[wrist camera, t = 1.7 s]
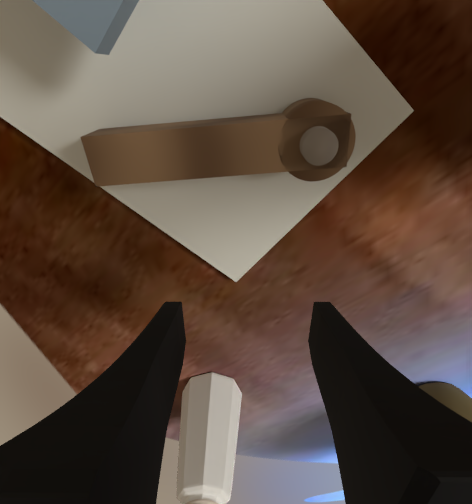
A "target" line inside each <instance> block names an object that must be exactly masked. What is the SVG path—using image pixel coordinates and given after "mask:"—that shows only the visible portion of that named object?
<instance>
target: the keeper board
mask: <svg viewBox="0 0 472 504" xmlns="http://www.w3.org/2000/svg"><path fill="white" fill-rule="evenodd" d="M305 98H317V99H321V100H324V101H327V102H329V103H332V104H335V105H337V106H339V107H340V108H342V109H343V110H344V111H346V112H348V113H351V120H352V122H353V124H354V128H355V134H356V139H355V146H354V150H353V153H352V155H351V157H350V159H349V161H348V162H347V167H343V168H342V169H341V170H340V171H339V172H338V173H336V174H335V175H333V176H331V177H330V178H327V179H325V180H321V181H312V182H310V181H304V180H300V179H298V178H296V177H294V176H293V175H291V174H290V173H289V172H277V173H264V174H252V175H239V176H226V177H213V178H201V179H188V180H175V181H162V182H150V183H137V184H124V185H111V186H100V187H101V188H102V189H104V190H105V191H107V192H108V193H110V194H111V195H112V196H114V197H115V198H117V199H118V200H120V201H121V202H122V203H124V204H125V205H127V206H128V207H130V208H131V209H132V210H134V211H135V212H137V213H138V214H139V215H141V216H142V217H144V218H145V219H147V220H148V221H149V222H151V223H152V224H154V225H155V226H157V227H158V228H159V229H161V230H162V231H164V232H165V233H167V234H168V235H169V236H171V237H172V238H174V239H175V240H177V241H178V242H179V243H181V244H182V245H184V246H185V247H187V248H188V249H189V250H191V251H192V252H194V253H195V254H197V255H198V256H199V257H201V258H202V259H204V260H205V261H206V262H208V263H209V264H211V265H212V266H214V267H215V268H216V269H218V270H219V271H221V272H222V273H224V274H225V275H226V276H228V277H229V278H231V279H232V280H234V281H235V282H237V281H238V280H239V279H240V278H241V277H242V276H243V275H244V274H245V273H246V272H247V271H248V270H249V269H250V268H251V267H252V266H253V265H254V264H255V263H256V262H257V261H259V260H260V259H261V258H262V257H263V256H264V255H265V254H266V253H267V252H268V251H269V250H270V249H271V248H272V247H273V246H274V245H275V244H276V243H277V242H278V241H279V240H280V239H281V238H282V237H283V236H284V235H286V234H287V233H288V232H289V231H290V230H291V229H292V228H293V227H294V226H295V225H296V224H297V223H298V222H299V221H300V220H301V219H302V218H303V217H304V216H305V215H306V214H307V213H308V212H309V211H310V210H311V209H313V208H314V207H315V206H316V205H317V204H318V203H319V202H320V201H321V200H322V199H323V198H324V197H325V196H326V195H327V194H328V193H329V192H330V191H331V190H332V189H333V188H334V187H335V186H336V185H337V184H338V183H339V182H341V181H342V180H343V179H344V178H345V177H346V176H347V175H348V174H349V173H350V172H351V171H352V170H353V169H354V168H355V167H356V166H357V165H358V164H359V163H360V162H361V161H362V160H363V159H364V158H365V157H366V156H368V155H369V154H370V153H371V152H372V151H373V150H374V149H375V148H376V147H377V146H378V145H379V144H380V143H381V142H382V141H383V140H384V139H385V138H386V137H387V136H388V135H389V134H390V133H391V132H392V131H393V130H395V129H396V128H397V127H398V126H399V125H400V124H401V123H402V122H403V121H404V120H405V119H406V118H407V117H408V116H409V115H410V114H411V113H412V112H413V111H414V110H413V109H412V108H411V106H410V105H409V104H408V103H407V102H406V100H405V99H404V98H403V97H402V96H401V94H400V93H399V92H398V91H397V90H396V88H395V87H394V86H393V85H392V84H391V82H390V81H389V80H388V79H387V77H386V76H385V75H384V74H383V73H382V71H381V70H380V69H379V68H378V67H377V65H376V64H375V63H374V62H373V61H372V59H371V58H370V57H369V56H368V55H367V53H366V52H365V51H364V50H363V49H362V47H361V46H360V45H359V44H358V43H357V41H356V40H355V39H354V38H353V37H352V35H351V34H350V33H349V32H348V30H347V29H346V28H345V27H344V26H343V24H342V23H341V22H340V21H339V20H338V18H337V17H336V16H335V15H334V14H333V12H332V11H331V10H330V9H329V8H328V6H327V5H326V4H325V3H324V2H323V0H0V117H1V118H3V119H4V120H6V121H7V122H8V123H10V124H11V125H13V126H14V127H16V128H17V129H18V130H20V131H21V132H23V133H24V134H25V135H27V136H28V137H30V138H31V139H33V140H34V141H35V142H37V143H38V144H40V145H41V146H43V147H44V148H45V149H47V150H48V151H50V152H51V153H53V154H54V155H55V156H57V157H58V158H60V159H61V160H63V161H64V162H65V163H67V164H68V165H70V166H71V167H73V168H74V169H75V170H77V171H78V172H80V173H81V174H82V175H84V176H85V177H87V178H88V179H90V180H91V181H92V182H94V180H93V176H92V173H91V170H90V167H89V163H88V160H87V157H86V154H85V151H84V147H83V144H82V141H81V138H80V137H82V136H84V135H86V134H89V133H91V132H93V131H96V130H98V129H104V128H115V127H127V126H138V125H150V124H161V123H173V122H184V121H196V120H207V119H219V118H230V117H242V116H253V115H265V114H276V113H282V112H283V111H284V110H285V109H286V108H287V107H288V106H289V105H291V104H292V103H294V102H296V101H298V100H301V99H305Z"/></svg>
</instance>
